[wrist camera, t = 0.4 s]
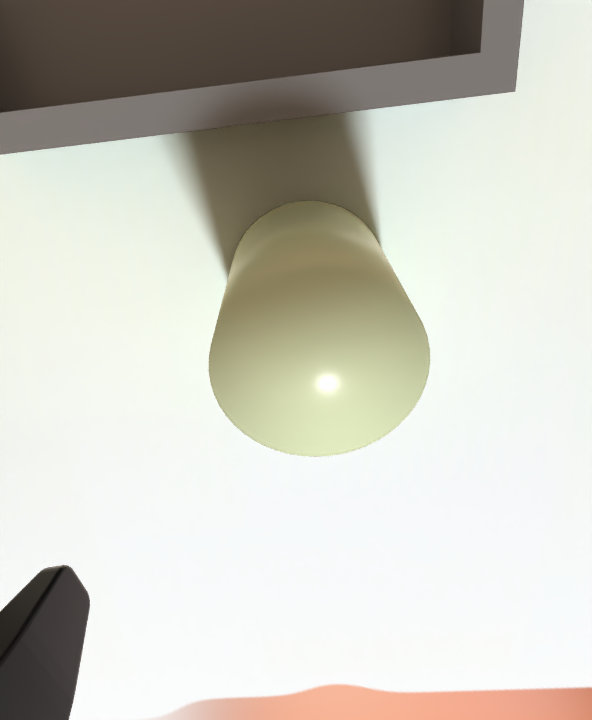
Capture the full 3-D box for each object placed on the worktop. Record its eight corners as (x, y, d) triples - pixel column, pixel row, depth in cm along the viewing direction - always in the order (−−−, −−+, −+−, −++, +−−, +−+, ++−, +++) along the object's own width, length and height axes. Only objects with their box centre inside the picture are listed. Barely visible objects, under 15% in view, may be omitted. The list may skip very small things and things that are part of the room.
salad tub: (382, 191, 18) (433, 253, 12) (385, 338, 21) (427, 445, 15) (218, 210, 18) (187, 280, 12) (244, 353, 21) (229, 465, 15)
